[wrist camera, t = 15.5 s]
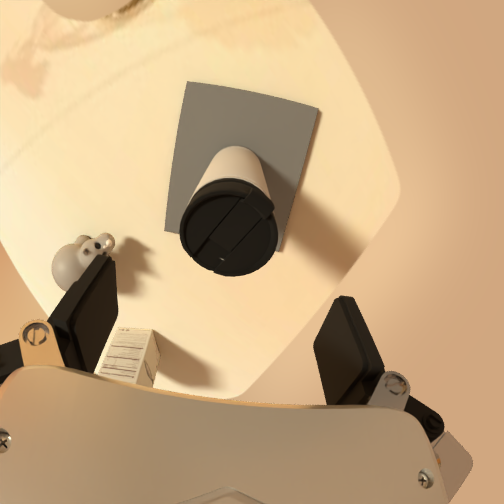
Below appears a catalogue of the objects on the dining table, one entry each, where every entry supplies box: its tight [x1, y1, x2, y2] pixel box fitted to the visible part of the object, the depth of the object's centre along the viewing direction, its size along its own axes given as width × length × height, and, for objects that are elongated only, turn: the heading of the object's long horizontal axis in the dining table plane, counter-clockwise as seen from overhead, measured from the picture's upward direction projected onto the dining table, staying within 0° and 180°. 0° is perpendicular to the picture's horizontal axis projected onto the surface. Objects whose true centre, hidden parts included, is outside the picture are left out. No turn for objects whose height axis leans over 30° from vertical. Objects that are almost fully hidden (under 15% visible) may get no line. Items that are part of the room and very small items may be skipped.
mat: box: [164, 81, 318, 252], centre depth 35 cm, size 20×16×1 cm
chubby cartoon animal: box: [52, 233, 115, 292], centre depth 36 cm, size 7×12×8 cm, turn 116°
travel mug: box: [179, 145, 278, 277], centre depth 26 cm, size 6×7×20 cm
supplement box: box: [98, 327, 161, 388], centre depth 44 cm, size 7×7×13 cm
